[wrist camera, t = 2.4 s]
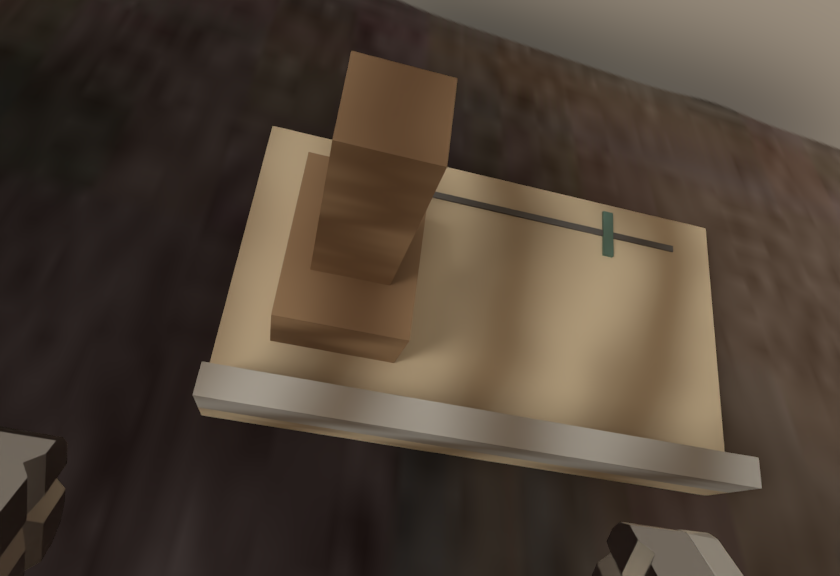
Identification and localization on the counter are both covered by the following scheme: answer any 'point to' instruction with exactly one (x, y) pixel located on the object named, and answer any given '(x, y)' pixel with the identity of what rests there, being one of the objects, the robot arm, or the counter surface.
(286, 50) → the counter surface
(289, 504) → the counter surface
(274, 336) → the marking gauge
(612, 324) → the birch board
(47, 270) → the counter surface
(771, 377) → the counter surface
